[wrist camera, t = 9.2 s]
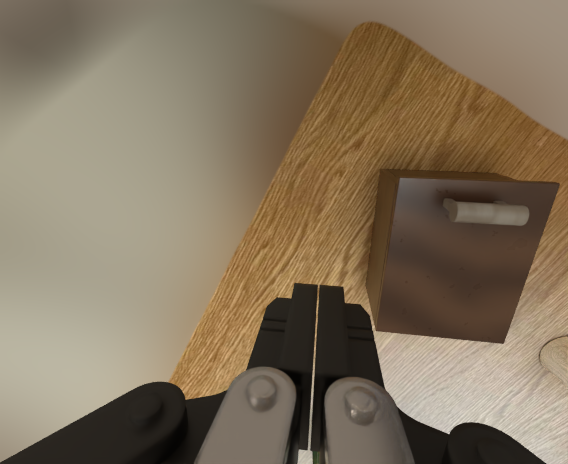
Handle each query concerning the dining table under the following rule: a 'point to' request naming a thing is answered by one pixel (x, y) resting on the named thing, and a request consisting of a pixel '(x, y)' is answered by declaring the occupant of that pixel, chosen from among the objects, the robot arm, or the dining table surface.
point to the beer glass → (556, 359)
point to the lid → (460, 255)
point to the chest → (384, 221)
